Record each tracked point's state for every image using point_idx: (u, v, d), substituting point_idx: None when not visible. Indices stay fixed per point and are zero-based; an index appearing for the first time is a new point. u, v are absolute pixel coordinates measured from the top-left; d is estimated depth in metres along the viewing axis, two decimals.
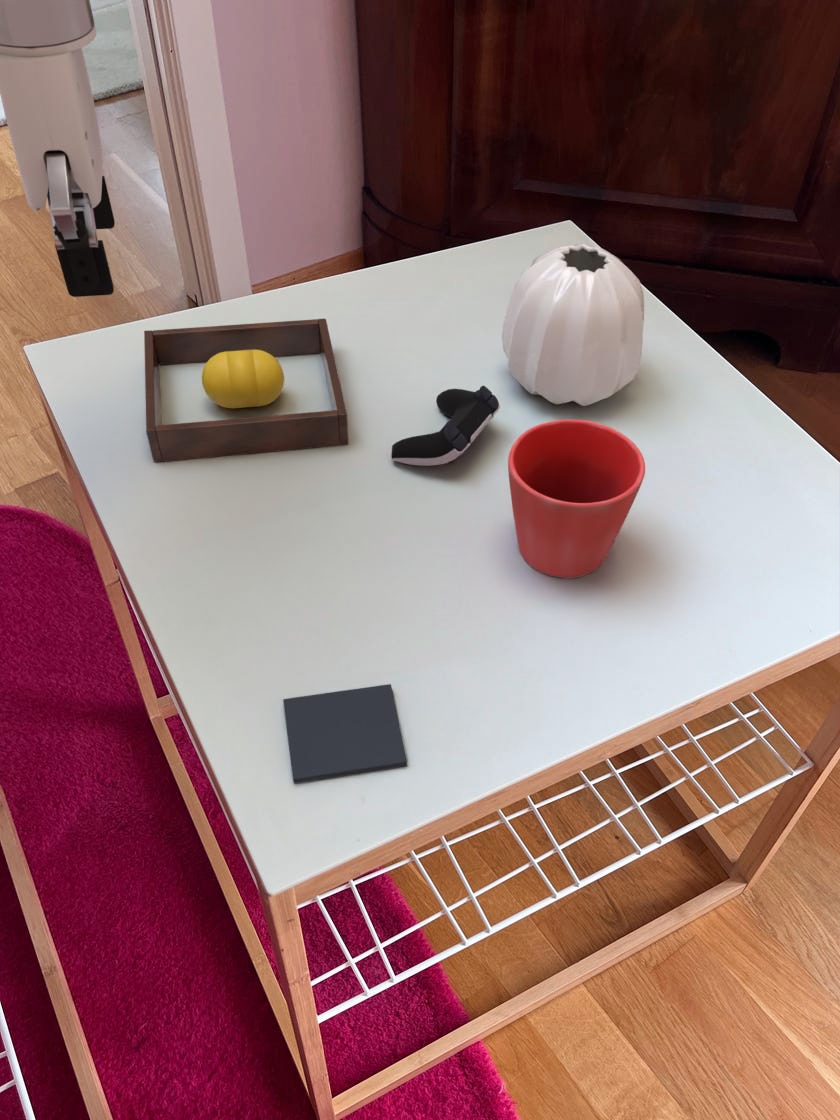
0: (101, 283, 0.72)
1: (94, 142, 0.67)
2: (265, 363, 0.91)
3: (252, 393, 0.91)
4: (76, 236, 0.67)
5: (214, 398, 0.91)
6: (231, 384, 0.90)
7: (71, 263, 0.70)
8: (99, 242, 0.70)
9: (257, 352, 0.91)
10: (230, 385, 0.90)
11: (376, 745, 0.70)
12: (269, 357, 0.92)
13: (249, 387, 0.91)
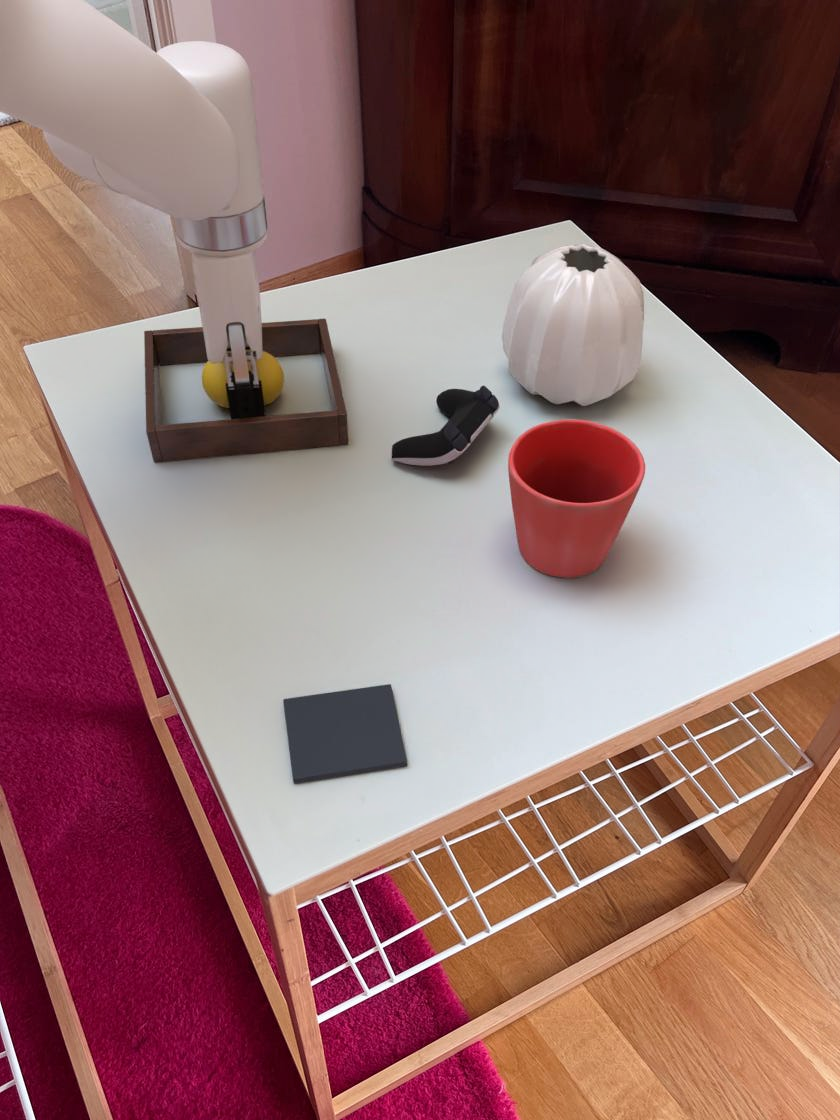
0: (257, 411, 0.92)
1: None
2: (265, 363, 0.91)
3: None
4: (247, 384, 0.87)
5: (214, 398, 0.91)
6: None
7: (237, 399, 0.90)
8: (259, 382, 0.90)
9: None
10: None
11: (376, 745, 0.70)
12: (270, 357, 0.92)
13: None
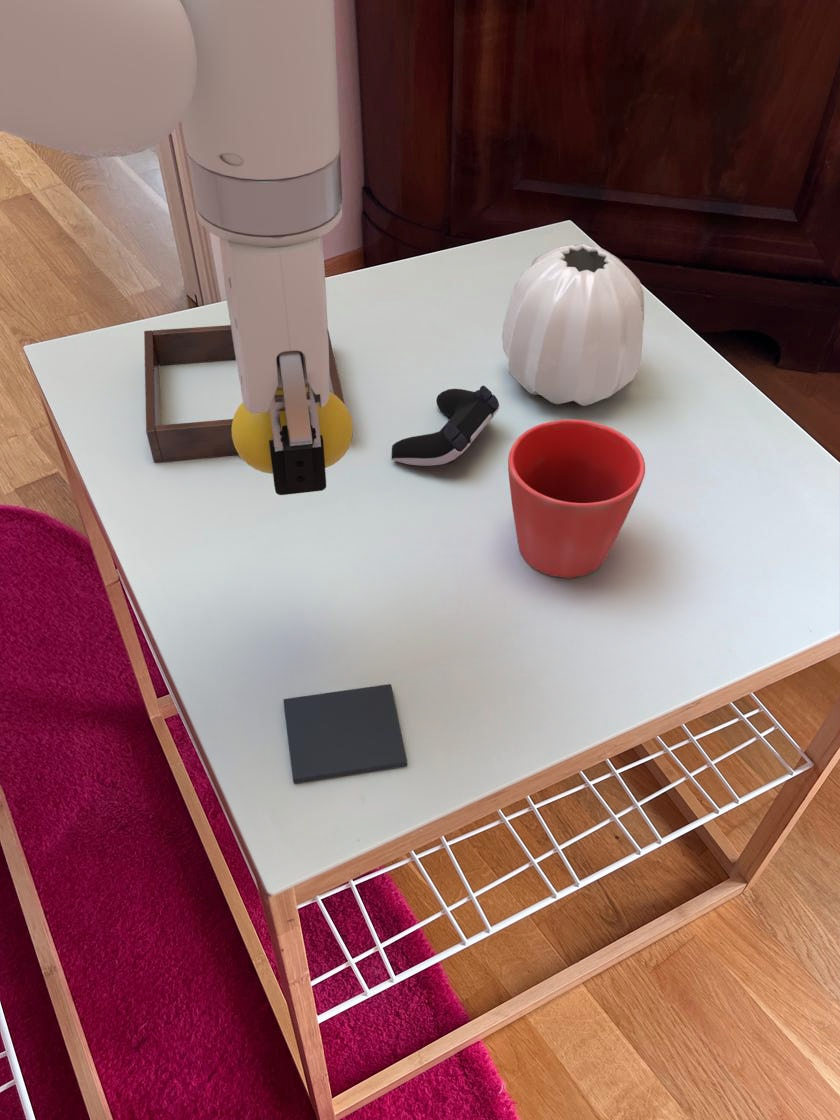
0: (314, 480, 0.61)
1: None
2: (327, 407, 0.60)
3: None
4: None
5: (251, 461, 0.61)
6: None
7: (287, 464, 0.59)
8: (319, 438, 0.59)
9: None
10: None
11: (376, 745, 0.70)
12: (333, 399, 0.61)
13: None
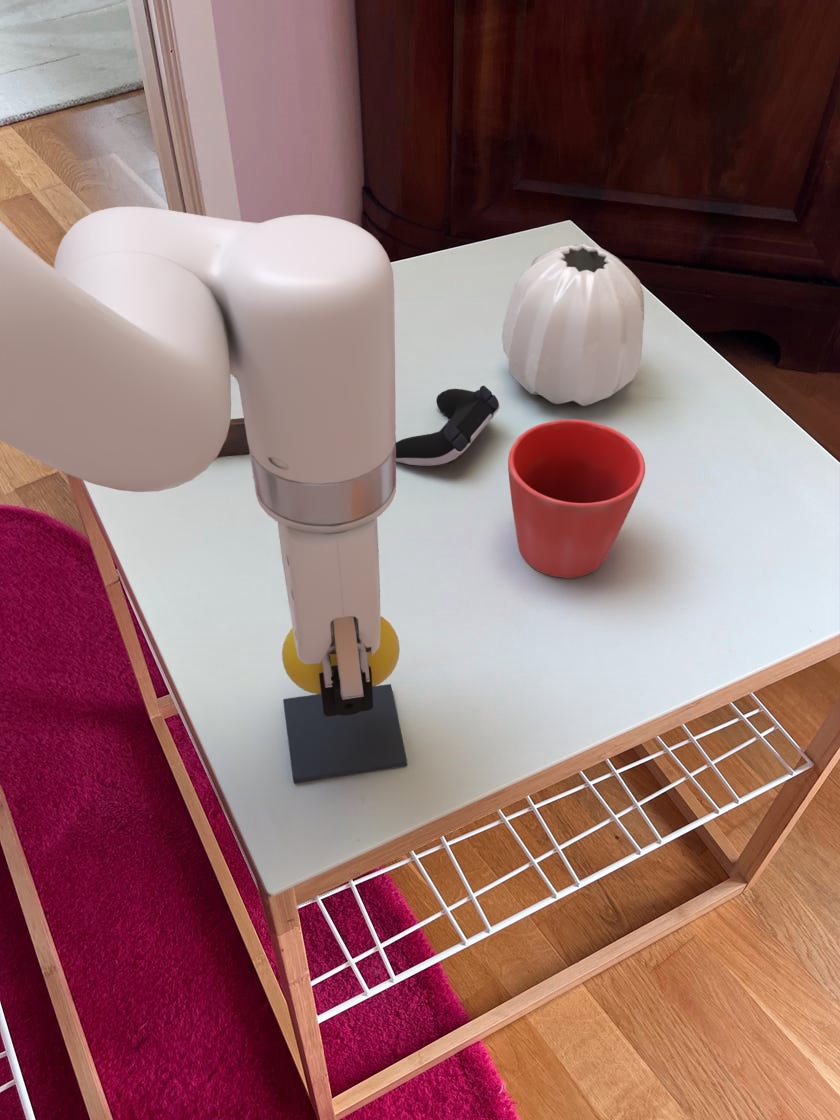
0: (361, 702, 0.63)
1: None
2: None
3: None
4: None
5: (301, 686, 0.63)
6: None
7: (336, 696, 0.61)
8: None
9: None
10: None
11: (376, 745, 0.70)
12: (381, 625, 0.63)
13: None
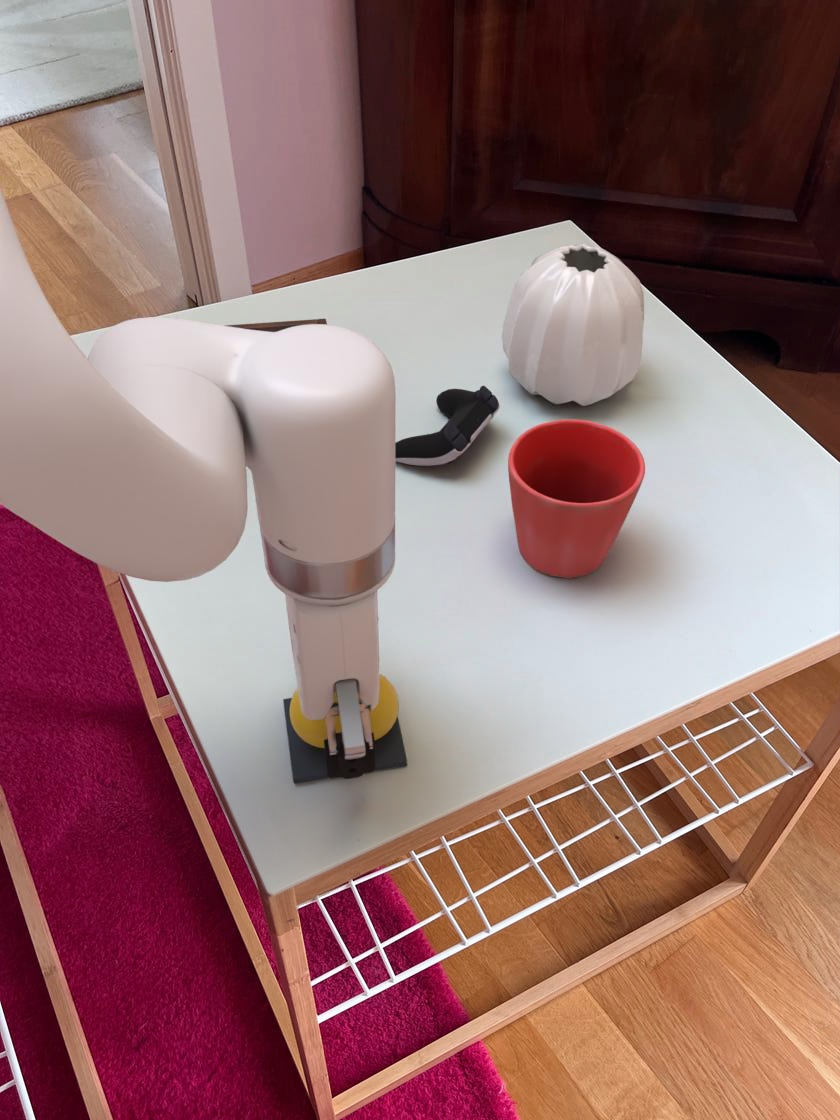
0: (364, 766, 0.65)
1: None
2: None
3: None
4: (360, 757, 0.60)
5: (307, 741, 0.67)
6: None
7: (340, 761, 0.63)
8: None
9: None
10: None
11: (376, 745, 0.70)
12: (382, 685, 0.67)
13: None
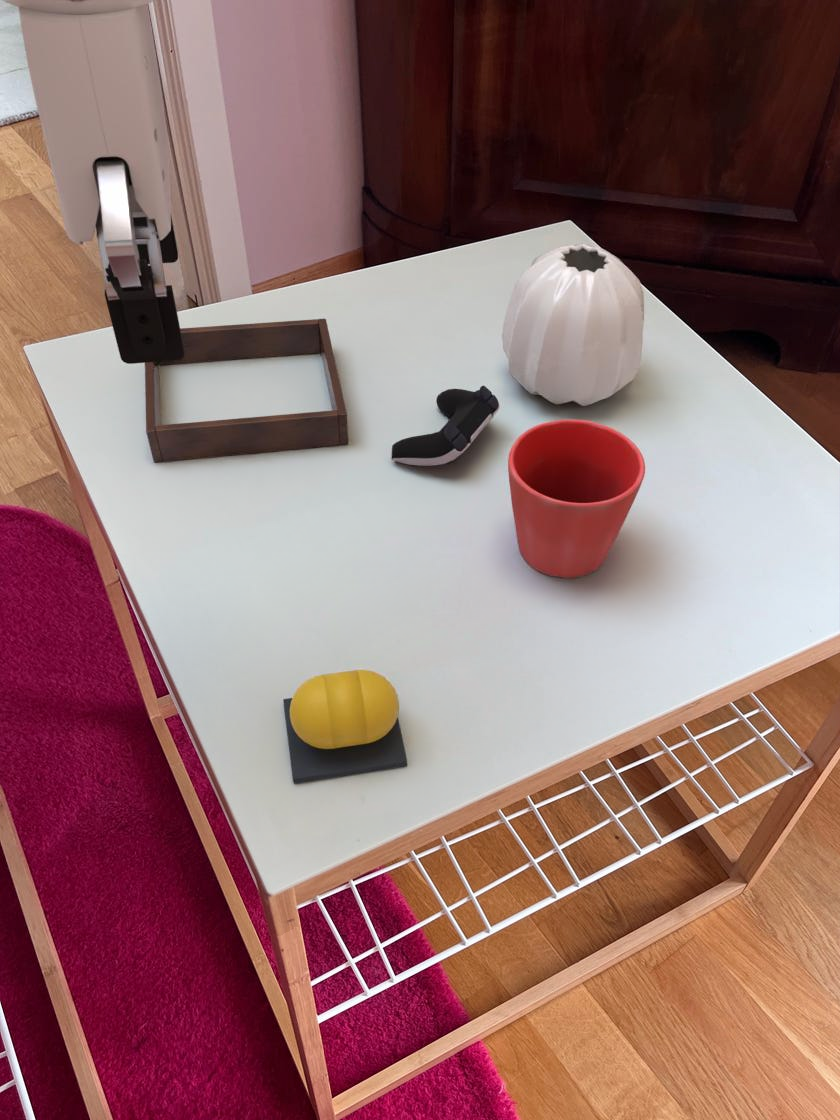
0: (167, 345, 0.51)
1: (164, 145, 0.46)
2: (377, 697, 0.67)
3: (359, 737, 0.67)
4: (139, 283, 0.45)
5: (307, 742, 0.67)
6: (332, 730, 0.66)
7: (127, 319, 0.48)
8: (168, 289, 0.49)
9: (366, 680, 0.67)
10: (331, 731, 0.66)
11: (376, 745, 0.70)
12: (382, 686, 0.67)
13: (356, 731, 0.67)
